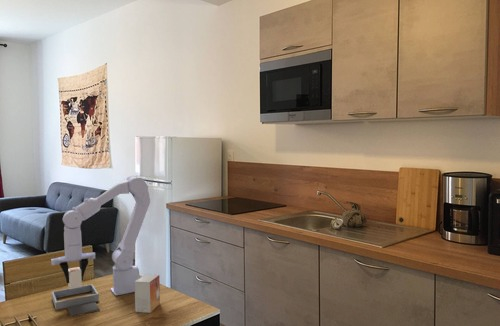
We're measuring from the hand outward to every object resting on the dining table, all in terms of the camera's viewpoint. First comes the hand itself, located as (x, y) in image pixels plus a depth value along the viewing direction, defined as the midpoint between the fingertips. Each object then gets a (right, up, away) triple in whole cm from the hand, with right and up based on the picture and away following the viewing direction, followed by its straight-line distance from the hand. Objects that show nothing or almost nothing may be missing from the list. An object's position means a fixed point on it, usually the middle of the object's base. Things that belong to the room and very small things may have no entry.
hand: (74, 281), depth 146 cm
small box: (+29, -7, -8) cm, 31 cm away
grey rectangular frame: (0, -7, 0) cm, 7 cm away
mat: (+7, -7, -8) cm, 13 cm away
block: (0, -2, 0) cm, 2 cm away
